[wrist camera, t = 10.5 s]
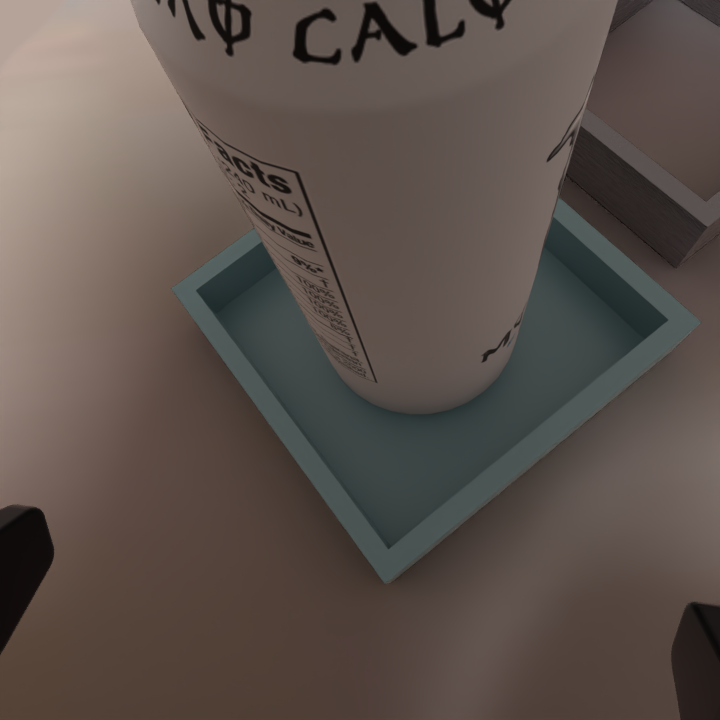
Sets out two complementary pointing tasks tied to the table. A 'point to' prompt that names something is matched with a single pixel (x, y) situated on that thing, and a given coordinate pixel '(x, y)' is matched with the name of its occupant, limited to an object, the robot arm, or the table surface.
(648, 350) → the tray
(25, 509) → the robot arm
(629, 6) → the open box
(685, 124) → the table surface
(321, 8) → the energy drink can
